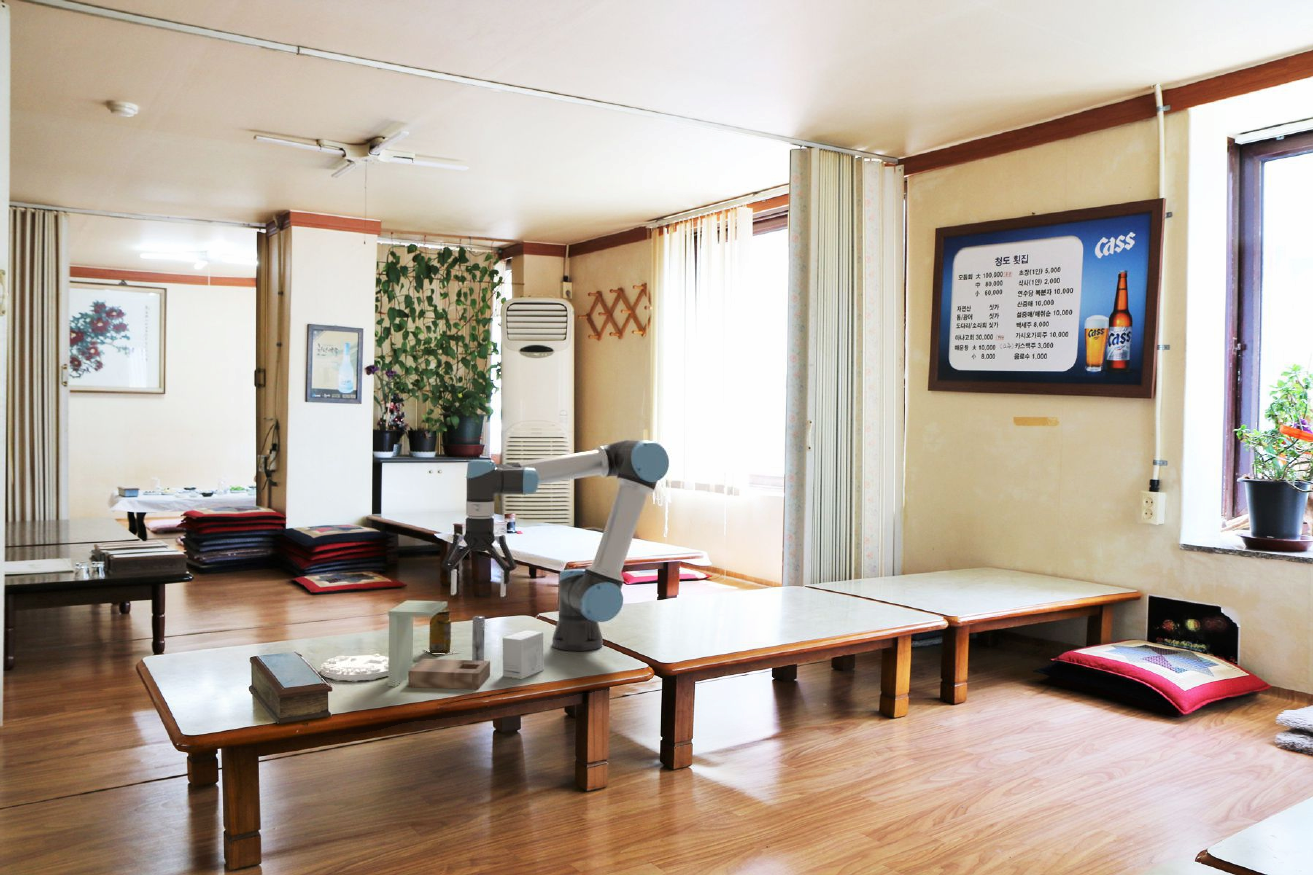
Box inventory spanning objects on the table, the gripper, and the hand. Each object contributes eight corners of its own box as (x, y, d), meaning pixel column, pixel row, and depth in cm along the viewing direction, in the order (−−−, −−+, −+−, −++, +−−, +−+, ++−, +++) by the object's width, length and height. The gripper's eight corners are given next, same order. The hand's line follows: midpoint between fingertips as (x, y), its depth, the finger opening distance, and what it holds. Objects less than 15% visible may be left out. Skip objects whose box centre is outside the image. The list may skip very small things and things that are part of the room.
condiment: (445, 647, 278) (446, 606, 277) (459, 653, 271) (459, 611, 271) (422, 650, 273) (423, 609, 273) (435, 656, 267) (436, 614, 266)
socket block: (489, 675, 248) (490, 660, 248) (478, 689, 236) (478, 673, 236) (423, 673, 249) (423, 658, 249) (408, 686, 237) (408, 670, 237)
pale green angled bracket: (446, 673, 250) (447, 601, 249) (430, 688, 236) (431, 612, 235) (405, 671, 250) (406, 600, 250) (387, 686, 236) (388, 611, 236)
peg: (485, 666, 257) (485, 616, 256) (482, 670, 254) (483, 618, 253) (473, 666, 257) (474, 615, 257) (470, 669, 254) (471, 618, 253)
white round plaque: (414, 671, 253) (414, 660, 253) (357, 687, 237) (357, 676, 236) (362, 659, 264) (362, 649, 264) (304, 674, 247) (304, 663, 247)
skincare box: (524, 667, 258) (525, 629, 257) (544, 670, 255) (544, 631, 254) (501, 676, 248) (501, 636, 248) (521, 679, 245) (521, 639, 245)
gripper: (430, 516, 251) (428, 595, 252) (522, 519, 250) (520, 599, 250) (438, 514, 259) (437, 590, 259) (528, 516, 257) (526, 594, 258)
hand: (478, 595), depth 255 cm, fingers open, 13 cm apart
